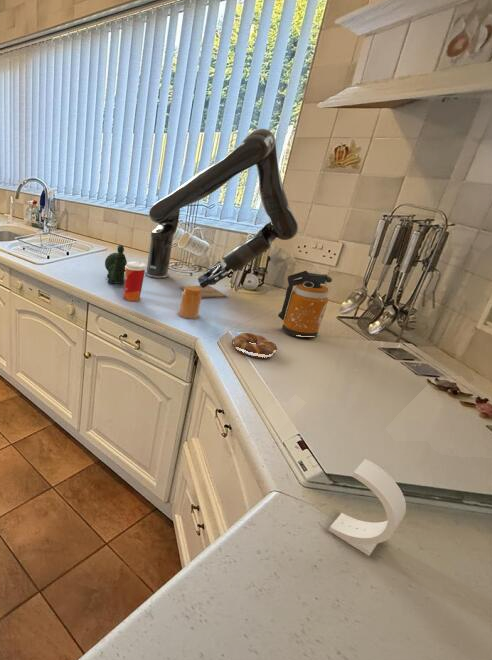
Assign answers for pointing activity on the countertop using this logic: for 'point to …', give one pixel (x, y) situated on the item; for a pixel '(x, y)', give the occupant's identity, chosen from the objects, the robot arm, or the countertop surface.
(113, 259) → the toy figurine
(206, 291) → the mat
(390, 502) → the headphone stand
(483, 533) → the countertop surface
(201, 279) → the lid
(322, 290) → the canister
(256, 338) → the pretzel
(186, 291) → the jar
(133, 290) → the paper cup
